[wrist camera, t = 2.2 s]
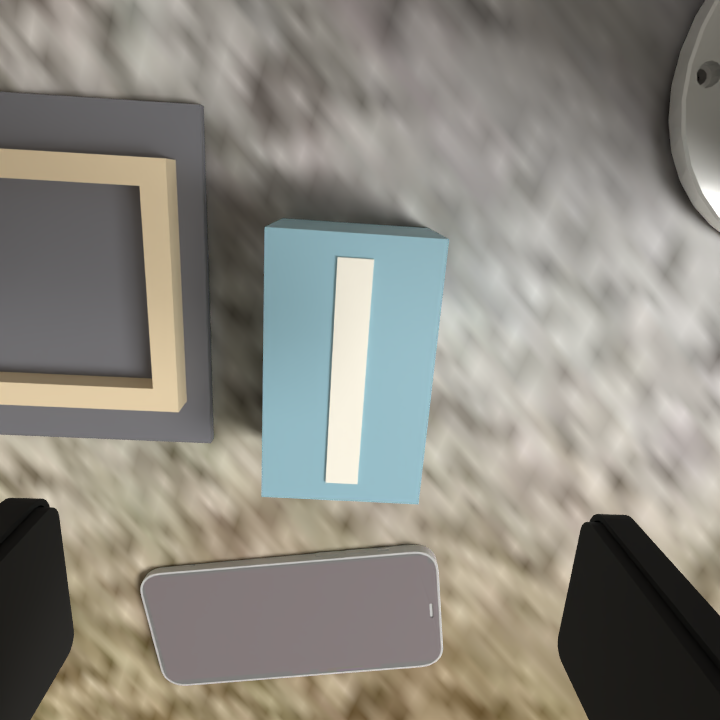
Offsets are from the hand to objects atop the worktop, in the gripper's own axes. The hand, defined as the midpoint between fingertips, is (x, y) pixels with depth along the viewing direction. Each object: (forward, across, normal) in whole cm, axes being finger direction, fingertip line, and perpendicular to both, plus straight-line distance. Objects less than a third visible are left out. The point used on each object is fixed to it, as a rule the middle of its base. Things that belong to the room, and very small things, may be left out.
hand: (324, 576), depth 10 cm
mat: (+15, +13, -2) cm, 20 cm away
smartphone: (+15, +1, +15) cm, 21 cm away
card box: (+15, -1, 0) cm, 15 cm away
